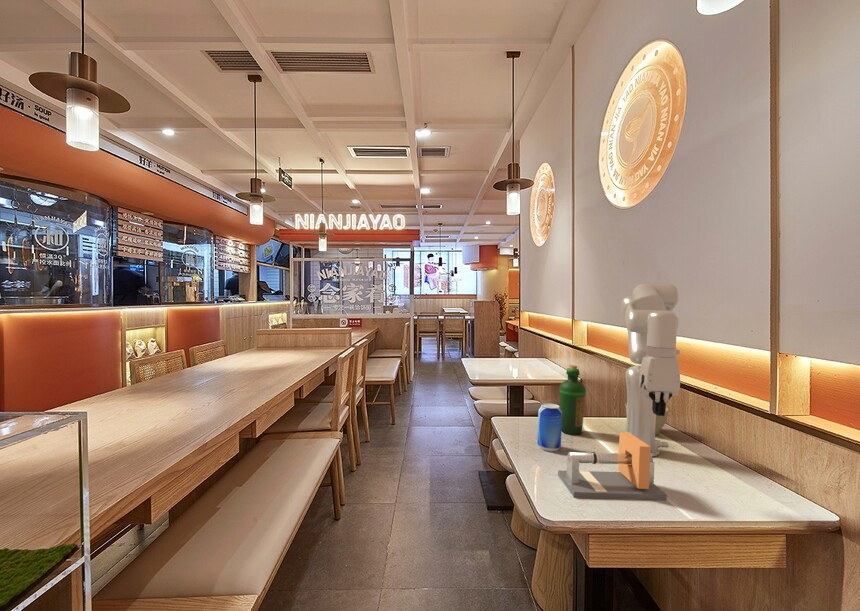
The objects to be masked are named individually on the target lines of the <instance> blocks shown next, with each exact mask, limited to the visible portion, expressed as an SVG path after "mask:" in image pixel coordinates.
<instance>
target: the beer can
mask: <svg viewBox="0 0 860 611" xmlns="http://www.w3.org/2000/svg"><path fill="white" fill-rule="evenodd" d="M537 416H538V417H537V446H539V449H540V450H543V451H545V452H553V451H554V452H558V451H559V450H560V448H561V447H562V431H561V427H562V412H561V410H560V404H559V405H558V404H556V403H550V402H544V403H541V406H540V408H538V415H537Z"/></svg>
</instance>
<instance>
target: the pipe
mask: <svg viewBox="0 0 860 611" xmlns="http://www.w3.org/2000/svg"><path fill="white" fill-rule="evenodd" d="M580 464H592V465H597V464H602V465H603V464H604V465H605V464H608V465H618V464H632V454H625V453H619V452H617V453H616V452H615V453H612V452H595V451H590V452H582V451H581V452H577V451H569V452H568V453H567V455H566V471H567V479H568V480H569V481H570V483H571V484H578V483H579V471H580ZM654 484H655V462H654V458H653V456H651V455H650V473H649V486H654Z"/></svg>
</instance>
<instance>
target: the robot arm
mask: <svg viewBox="0 0 860 611" xmlns="http://www.w3.org/2000/svg"><path fill="white" fill-rule="evenodd" d="M678 301H679V291H678V288H677V287H676V286H675V285H674V284H673V283H668V282H667V283H659V282H658V283H657V282H655V283H654V282H652V283H651V282H647V283H646V282H645V283H640V284H638V285H637V286H635V287H634V289H633V290H632V295H629V296H626V297H624V298H622V300H621V303H620V311H621V312H620V313H621V317H622V320H623V323H624V325H625V328H626V329H627V340H628V343H627V345H628V357H629V360H630V362H632V363H634V364H636V365H633V366H630V367H628V368H627V369H626V371H625V381H626V392H627V393H626V397H627V398H626V399H627V401H626V403H627V414H626V428H625V429H626V430H625V432H629V433H631V434H632V435H634V436H635V437H637V438H638V439H640V440H641V441H643V442H644V443H646V444H647V445H649V446H650V455H651V456H652V457H657V456H659V455H660V450H659V448H668V447H669V443H668V442H667V441H661V440H660V439H656V435H655V424H656V415H658V416H665V411H666V408H667V406H666V405H667V403H668V402H669V400H670V399H671V398H672V397H676V396H679V394H680V392H679V391H680V388H681V372H680V364H679V359H678V355H680V349H677V334H678V333H677V329H678V327H679V318H678V316H677V314H676V313H675V312H673V311H674V310H675V308H676V307H677V304H678Z"/></svg>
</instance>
